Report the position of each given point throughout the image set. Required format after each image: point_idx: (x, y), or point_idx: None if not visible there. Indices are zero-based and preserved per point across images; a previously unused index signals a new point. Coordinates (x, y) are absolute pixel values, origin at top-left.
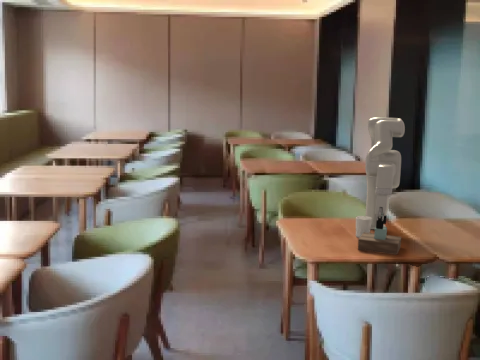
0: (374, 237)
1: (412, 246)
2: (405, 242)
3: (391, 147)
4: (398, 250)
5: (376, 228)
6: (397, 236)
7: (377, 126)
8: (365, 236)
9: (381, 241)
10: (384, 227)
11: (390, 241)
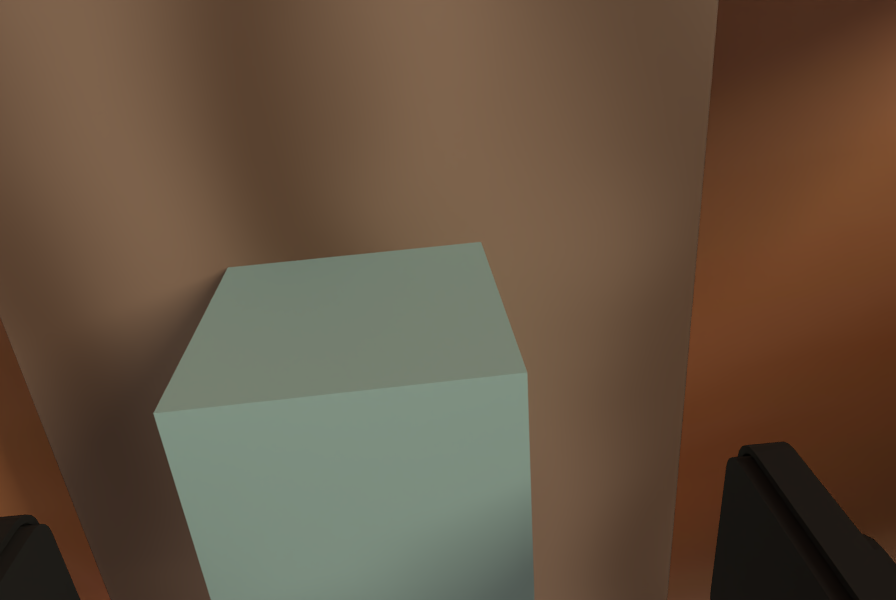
0: (222, 286)
1: (706, 593)
2: (876, 494)
3: None
4: None
5: (173, 458)
6: (663, 573)
7: None
8: (282, 22)
9: (106, 448)
10: (466, 591)
11: None
